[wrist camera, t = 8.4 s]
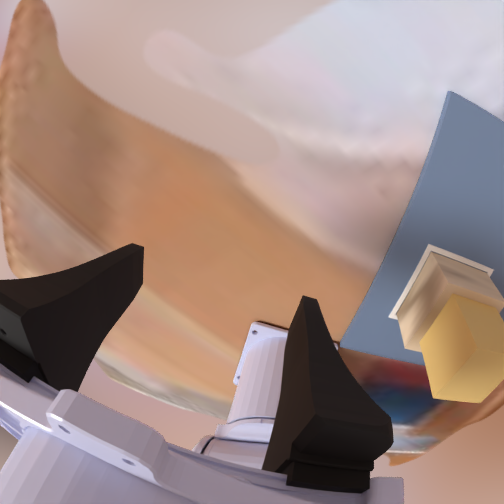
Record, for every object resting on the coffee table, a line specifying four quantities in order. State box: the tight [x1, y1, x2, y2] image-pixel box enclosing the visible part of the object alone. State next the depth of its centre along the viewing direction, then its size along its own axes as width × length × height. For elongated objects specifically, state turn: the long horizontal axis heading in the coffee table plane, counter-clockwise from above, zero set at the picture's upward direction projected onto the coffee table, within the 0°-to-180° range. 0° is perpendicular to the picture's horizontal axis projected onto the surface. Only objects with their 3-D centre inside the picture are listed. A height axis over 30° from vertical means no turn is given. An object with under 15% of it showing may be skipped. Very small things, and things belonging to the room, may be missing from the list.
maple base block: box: [396, 252, 504, 352], centre depth 20 cm, size 6×6×4 cm
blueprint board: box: [340, 91, 504, 366], centre depth 20 cm, size 22×16×1 cm
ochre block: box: [419, 293, 504, 403], centre depth 16 cm, size 4×4×5 cm
